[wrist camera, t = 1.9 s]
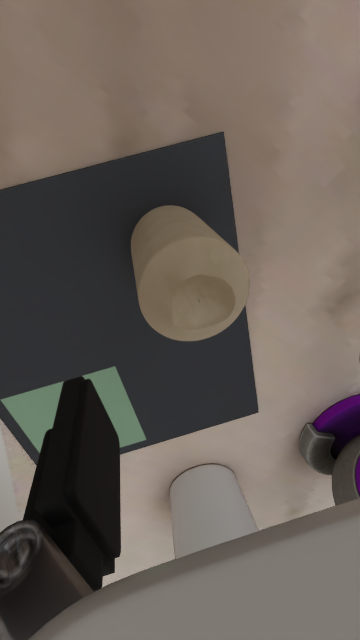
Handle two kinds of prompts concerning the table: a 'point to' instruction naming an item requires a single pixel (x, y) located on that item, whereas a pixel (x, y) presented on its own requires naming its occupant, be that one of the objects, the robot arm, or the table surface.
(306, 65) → the table surface
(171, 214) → the candle
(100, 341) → the desk pad
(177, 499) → the candle holder
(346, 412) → the webcam
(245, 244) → the table surface
